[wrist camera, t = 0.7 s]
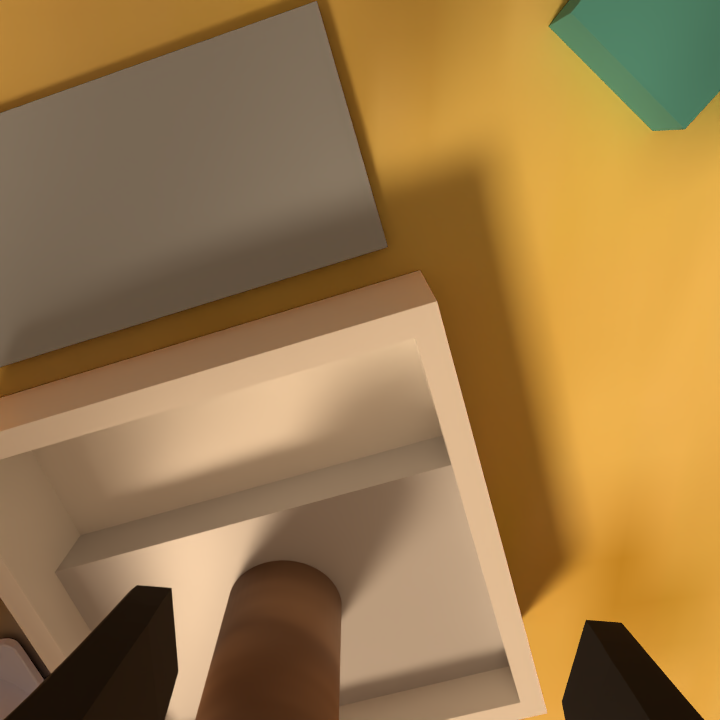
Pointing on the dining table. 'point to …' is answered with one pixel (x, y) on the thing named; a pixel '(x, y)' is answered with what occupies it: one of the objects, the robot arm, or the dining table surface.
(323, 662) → the walnut cylinder
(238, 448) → the open box
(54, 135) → the slate mat
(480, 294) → the dining table surface
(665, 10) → the alien figure
